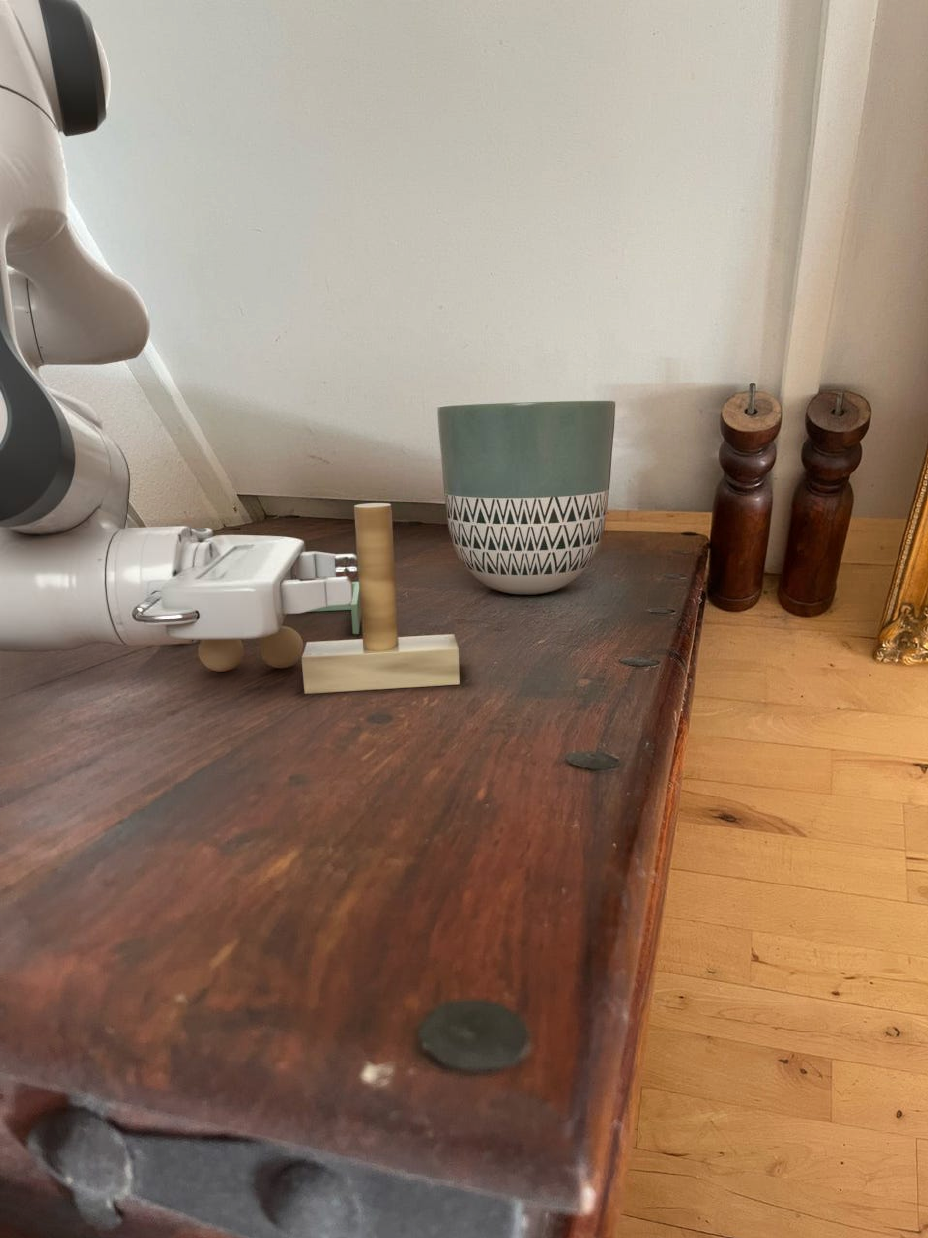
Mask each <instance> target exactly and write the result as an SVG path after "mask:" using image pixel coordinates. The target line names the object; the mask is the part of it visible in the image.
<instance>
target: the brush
mask: <svg viewBox="0 0 928 1238" xmlns="http://www.w3.org/2000/svg"><path fill="white" fill-rule="evenodd" d="M392 511H393V510H392V504H391V503H387V502H369V503H368V502H367V503H358V504H355V505H353V514H354V529H355V545H356V547H355V548H356V557H357V562H358V572H357V574H358V575H357V576H358V582H359V592H360V607H361V621H360V623H361V634H362V635H361V637H362V638H360V639H342V640H323V641H322V640H321V641H307V642H306V644H305V646H304V648H303V652H302V655H301V657H300V659H301V669H302V680H303V689H304V690H303V692H304V695H311V694H329V693H342V692H343V693H344V692H357V691H358V692H360V691H377V690H391V689H407V688H408V689H409V688H423V687H425V688H427V687H440V686H457V685H458V686H459V685H460V684H461V675H460V672H461V671H460V669H461V668H460V648H459V644H458V641H457V639H456V635H455V634H454V633H452V634H451V633H449V634H429V635H416V636H415V635H412V636H399V625H398V606H397V603H398V602H397V587H396V585H397V583H396V571H395V570H396V569H395V567H396V566H395V549H394V530H393V529H394V528H393V512H392Z"/></svg>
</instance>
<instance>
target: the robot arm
mask: <svg viewBox="0 0 928 1238" xmlns="http://www.w3.org/2000/svg"><path fill="white" fill-rule="evenodd" d="M111 81H112V79H111V71H110V65H109V61H108V58H107V54H106V51H105V49H104V46H103V43H102V41H101V39H100V37H99V35H98V33H97V31H96V30H95V28H94V27H93V22H92V19H91V17H90V16H89V14H88V13H87V12H86V11H85V10H84V9H83V7H81V5H80V4H79V2H77V0H0V652H14V653H15V652H16V653H17V652H19V653H21V652H22V653H23V652H24V653H25V652H27V653H28V652H30V653H32V652H34V653H35V652H61V651H62V652H63V651H74V650H78V649H80V648H83V647H86V646H89V645H94V644H95V645H96V644H109V645H112V646H113V645H114V646H117V647H124V648H132V647H151V646H167V645H168V646H169V645H188V644H189V645H191V644H195V643H197V642H198V641H201V640H234V639H240V640H256V639H261V638H262V637H267V636H270V635H274V634H276V633H277V632H278V630H279V628H280V626H283V623H284V621H285V619H286V617H287V615H297V614H298V615H299V614H304V613H309V612H308V611H312V610H316V609H320V608H324V607H327V606H342V605H348V604H350V603H351V601H352V598H353V589H352V582H353V581H352V579H354V578H355V577H356V576H358V575H357V574H358V562H357V554H354V553H337V554H336V553H331V552H322V551H316V550H315V551H306V544H305V541H304V540H303V539H300V538H296V537H290V536H284V535H283V536H282V535H281V536H278V535H254V534H218V535H217V534H216V535H214V531H213V530H212V529H211V528H209V527H208V528H202V527H201V528H191V527H189V526H186V525H177V526H176V525H175V526H154V527H153V526H152V527H140V526H139V525H138V524H137V522H136V521H135V520H134V519H133V518H132V517H131V515H130V514H129V513H128V512H129V511H128V510H129V503H130V502H129V501H130V492H131V491H130V490H131V474H130V468H129V465H128V462H127V460H126V457H125V454H124V453H123V451H122V449H121V448H120V447H119V445H118V444H117V443H116V442H115V440H114V439H112V438H111V437H110V436H109V435H108V434H107V433H106V432H105V431H104V430H103V429H104V428H103V423H102V419H101V418H100V416H99V415H98V413H97V412H96V411H95V409H93V407H91V406H90V405H89V404H87V403H86V402H84V401H82V400H80V399H78V398H76V397H74V396H72V395H70V394H67V393H65V392H62V391H60V390H58V389H54V388H52V387H51V386H49V385H48V384H46V383H45V382H44V380H43V379H42V377H41V375H40V369H39V368H41V367H43V366H101V365H108V364H113V363H119V362H123V361H128V360H133V359H136V358H138V357H139V356H140V355H141V353H142V352H143V351H144V349H145V347H146V345H147V342H148V341H149V336H150V328H151V324H150V317H149V313H148V309H147V306H146V304H145V302H144V300H143V298H142V296H141V295H140V294H139V292H138V291H137V290H136V288H135V287H134V286H133V285H132V284H131V283H130V282H128V281H127V280H126V279H124V278H122V277H120V276H118V275H117V274H115V273H113V272H112V271H111V270H109V269H108V268H106V266H104V265H103V264H102V263H100V262H99V261H98V260H97V259H96V258H95V257H94V256H93V255H92V254H91V252H90V251H89V250H88V249H87V248H86V246H85V245H84V244H83V242H82V241H81V240H80V238H79V236H78V235H77V232H76V231H75V229H74V225H73V224H72V221H71V218H70V215H69V181H68V173H67V166H66V160H65V156H64V150H63V146H62V145H63V144H62V140H61V137H60V133H62V134H63V135H64V137H66V138H67V137H72V136H80V135H85V134H88V133H93V132H96V131H97V130H98V129H99V127H101V125H103V123H104V122H105V120H106V119H107V109H108V106H109V102H110V97H111V89H112V87H111V86H112V82H111ZM8 267H10V268H8ZM317 577H327V578H326V580H325V579H323V580H315V579H316V578H317Z"/></svg>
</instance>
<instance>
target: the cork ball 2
mask: <svg viewBox="0 0 928 1238" xmlns="http://www.w3.org/2000/svg"><path fill="white" fill-rule="evenodd" d="M303 652H304V643H303V639H302V637H301V635H300V634H299V632H297V631H296V630H295V629H293V628H292V627H289V626H285V625H281V626H280V628H279V630H278V632H277V633H276V634H274V635H270V636H267V637H262V638H260V642H259V654H260V656H261V659H262V660H263V661H264V662H265V663H266V664H267V665H268V666H270V667H272V668H275V669H287V668H290V667H292V666H294V665H295V664H296V663H298V661H299V660H300V659H301V657H302V655H303Z"/></svg>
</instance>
